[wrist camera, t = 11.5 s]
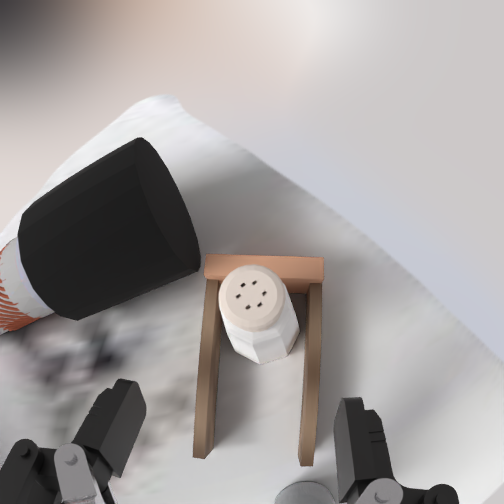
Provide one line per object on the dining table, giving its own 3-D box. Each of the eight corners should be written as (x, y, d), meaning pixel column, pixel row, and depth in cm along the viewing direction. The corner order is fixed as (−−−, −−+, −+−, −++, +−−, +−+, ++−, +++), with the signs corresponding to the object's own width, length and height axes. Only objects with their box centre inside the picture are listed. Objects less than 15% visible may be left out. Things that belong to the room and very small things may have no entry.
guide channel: (308, 454, 19) (314, 470, 15) (202, 447, 20) (188, 461, 16) (316, 275, 24) (323, 257, 20) (217, 271, 25) (206, 253, 21)
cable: (-14, 325, 29) (-62, 276, 23) (195, 218, 28) (142, 121, 21) (-32, 387, 22) (-91, 337, 15) (207, 301, 20) (123, 172, 14)
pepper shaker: (314, 332, 22) (344, 299, 12) (259, 379, 21) (242, 388, 11) (267, 280, 24) (258, 211, 14) (213, 325, 23) (163, 287, 13)
